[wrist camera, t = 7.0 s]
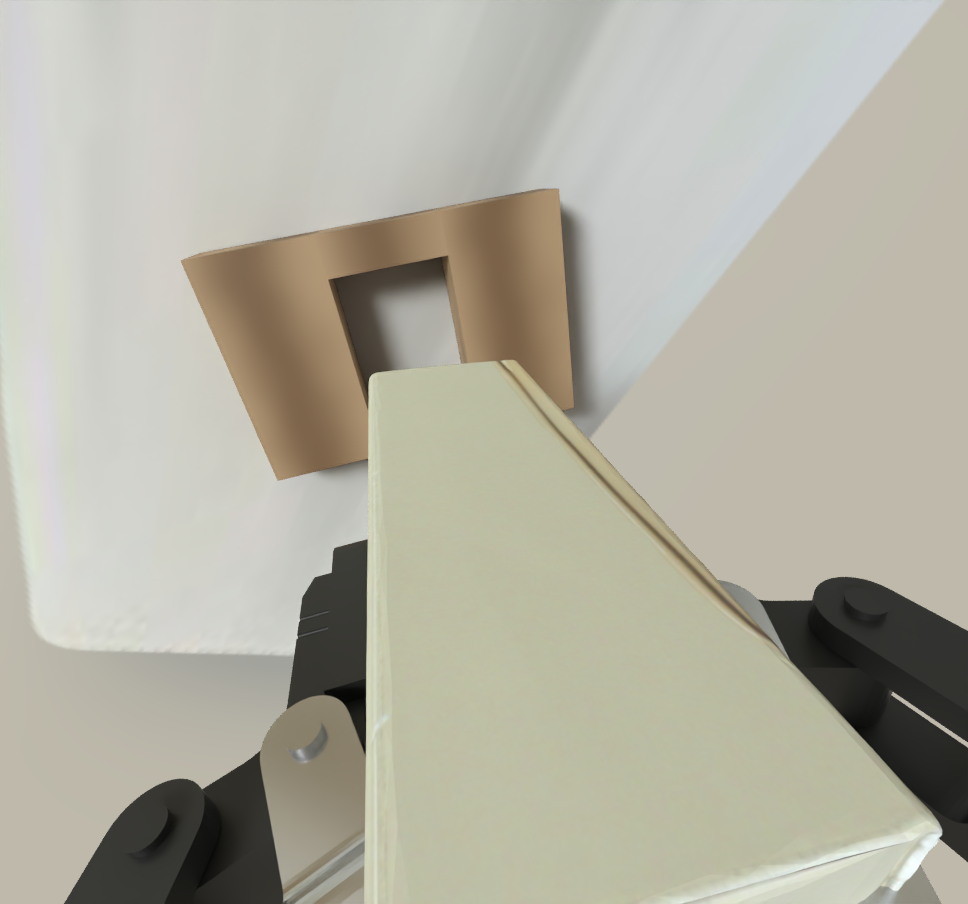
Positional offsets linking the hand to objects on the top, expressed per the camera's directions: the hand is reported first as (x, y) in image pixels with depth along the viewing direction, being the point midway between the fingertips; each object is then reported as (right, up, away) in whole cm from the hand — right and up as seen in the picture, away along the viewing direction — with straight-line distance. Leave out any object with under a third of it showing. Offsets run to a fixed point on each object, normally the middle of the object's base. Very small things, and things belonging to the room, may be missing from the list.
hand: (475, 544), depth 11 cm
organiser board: (-5, +9, +17) cm, 20 cm away
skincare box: (-1, +2, +4) cm, 5 cm away
